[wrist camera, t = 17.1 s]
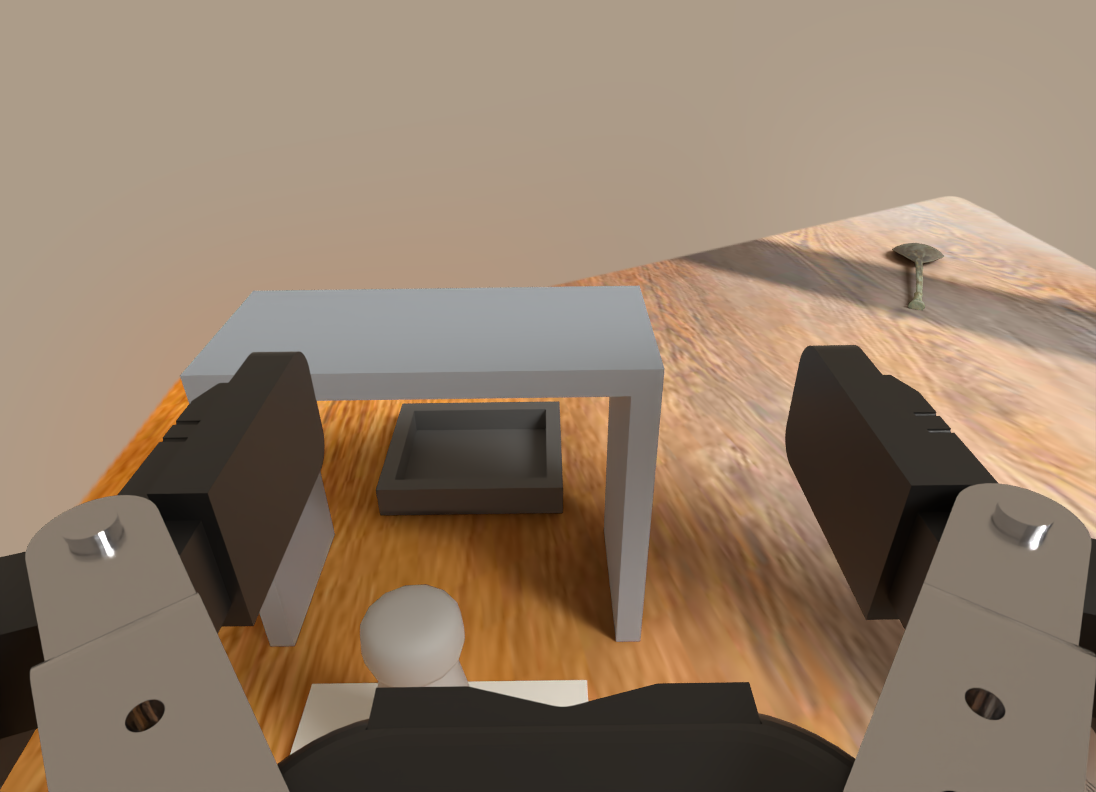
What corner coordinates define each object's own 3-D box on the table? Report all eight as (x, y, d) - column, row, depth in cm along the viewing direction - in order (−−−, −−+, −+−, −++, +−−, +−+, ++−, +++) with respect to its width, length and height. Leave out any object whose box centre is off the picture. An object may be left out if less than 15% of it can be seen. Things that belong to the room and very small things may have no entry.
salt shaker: (376, 749, 37) (334, 575, 31) (482, 721, 39) (465, 548, 32) (386, 864, 33) (339, 689, 26) (506, 828, 34) (492, 652, 27)
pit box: (559, 424, 64) (559, 401, 63) (562, 512, 54) (562, 487, 52) (405, 426, 64) (402, 403, 63) (380, 515, 54) (375, 490, 52)
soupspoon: (940, 261, 100) (889, 256, 103) (945, 238, 99) (894, 234, 101) (944, 316, 83) (883, 309, 85) (951, 289, 81) (889, 283, 84)
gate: (624, 530, 52) (639, 285, 42) (640, 641, 44) (664, 369, 33) (314, 534, 52) (253, 290, 42) (270, 646, 44) (180, 375, 33)
